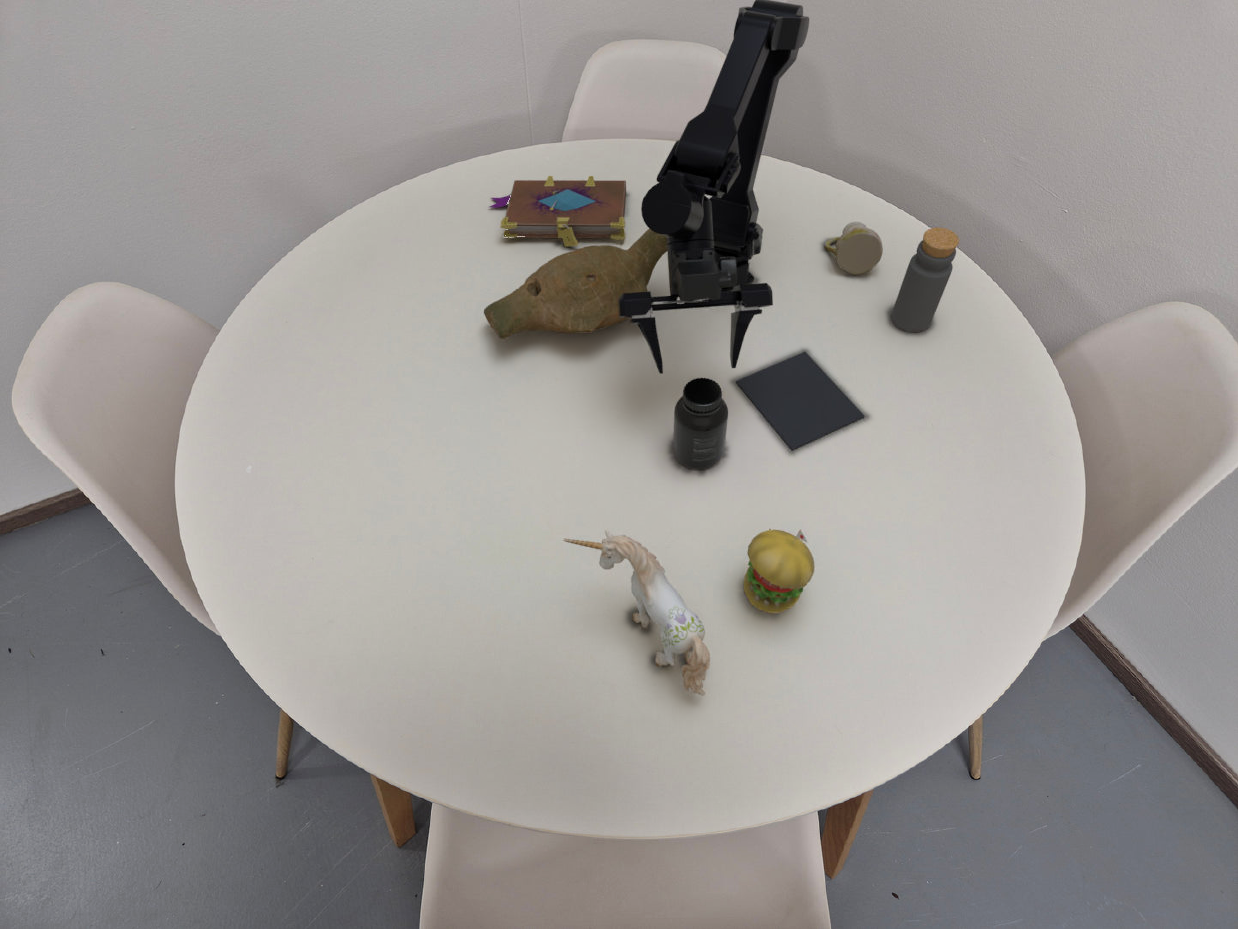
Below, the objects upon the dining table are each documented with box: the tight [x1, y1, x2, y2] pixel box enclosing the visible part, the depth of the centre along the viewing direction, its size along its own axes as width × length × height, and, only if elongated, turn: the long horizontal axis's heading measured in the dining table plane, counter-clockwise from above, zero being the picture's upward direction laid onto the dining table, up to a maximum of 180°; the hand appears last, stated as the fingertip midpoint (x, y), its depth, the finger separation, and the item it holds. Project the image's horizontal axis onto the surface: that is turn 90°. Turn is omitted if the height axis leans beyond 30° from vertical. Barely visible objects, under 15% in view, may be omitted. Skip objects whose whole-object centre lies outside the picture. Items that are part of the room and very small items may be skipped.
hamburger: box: [742, 528, 815, 614], centre depth 86 cm, size 8×7×12 cm
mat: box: [735, 351, 865, 451], centre depth 107 cm, size 14×12×1 cm
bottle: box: [891, 227, 960, 333], centre depth 110 cm, size 6×6×15 cm
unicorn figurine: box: [562, 529, 711, 697], centre depth 83 cm, size 7×20×13 cm, turn 46°
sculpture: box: [483, 228, 668, 340], centre depth 115 cm, size 14×16×30 cm
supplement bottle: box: [673, 377, 729, 470], centre depth 98 cm, size 7×7×12 cm
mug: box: [824, 221, 884, 275], centre depth 122 cm, size 8×10×10 cm
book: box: [488, 175, 627, 247], centre depth 131 cm, size 16×25×5 cm, turn 87°
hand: (697, 370), depth 97 cm, fingers open, 9 cm apart
